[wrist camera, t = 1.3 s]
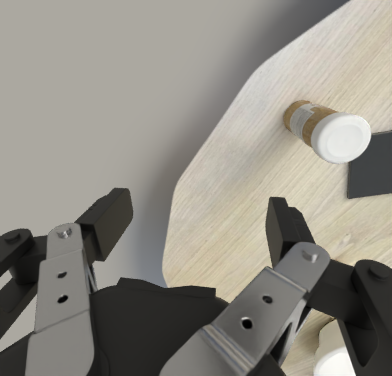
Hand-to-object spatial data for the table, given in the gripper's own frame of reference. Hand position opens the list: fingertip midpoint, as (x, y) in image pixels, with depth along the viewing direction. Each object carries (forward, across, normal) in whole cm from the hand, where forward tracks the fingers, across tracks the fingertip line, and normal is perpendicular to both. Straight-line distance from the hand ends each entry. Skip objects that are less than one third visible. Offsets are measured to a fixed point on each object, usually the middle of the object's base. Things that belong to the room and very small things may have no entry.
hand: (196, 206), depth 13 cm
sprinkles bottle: (+24, -11, 0) cm, 27 cm away
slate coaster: (+25, -25, +6) cm, 36 cm away
